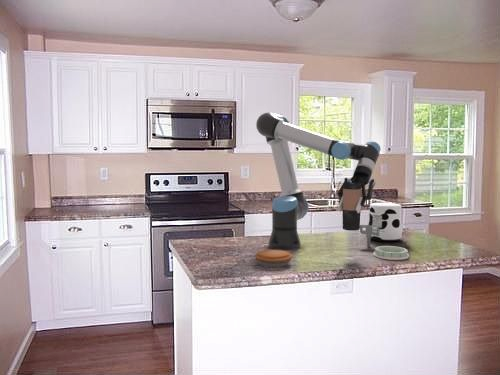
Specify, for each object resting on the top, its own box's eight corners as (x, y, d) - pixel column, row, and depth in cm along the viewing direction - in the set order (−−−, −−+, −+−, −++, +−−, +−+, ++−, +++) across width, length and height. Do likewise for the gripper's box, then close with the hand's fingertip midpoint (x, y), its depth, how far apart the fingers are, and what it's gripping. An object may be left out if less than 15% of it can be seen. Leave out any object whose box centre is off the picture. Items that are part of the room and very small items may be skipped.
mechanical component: (380, 247, 218) (380, 226, 217) (357, 246, 220) (358, 225, 219) (379, 246, 221) (380, 225, 220) (357, 245, 223) (358, 224, 222)
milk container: (399, 237, 243) (400, 202, 241) (405, 244, 226) (406, 207, 224) (365, 236, 245) (366, 202, 243) (368, 243, 228) (369, 206, 226)
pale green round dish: (378, 260, 195) (378, 253, 195) (369, 251, 210) (369, 245, 210) (414, 259, 195) (414, 253, 195) (402, 251, 210) (402, 245, 210)
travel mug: (363, 230, 198) (365, 183, 196) (348, 231, 195) (349, 184, 193) (353, 227, 205) (354, 181, 203) (338, 228, 202) (339, 182, 200)
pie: (258, 258, 198) (258, 246, 198) (294, 260, 195) (294, 248, 195) (251, 268, 183) (251, 255, 182) (290, 270, 180) (290, 257, 180)
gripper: (388, 176, 205) (373, 218, 193) (345, 174, 216) (329, 213, 205) (384, 165, 200) (369, 206, 188) (340, 164, 212) (323, 202, 200)
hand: (348, 210), depth 197 cm, fingers closed on travel mug, 7 cm apart
